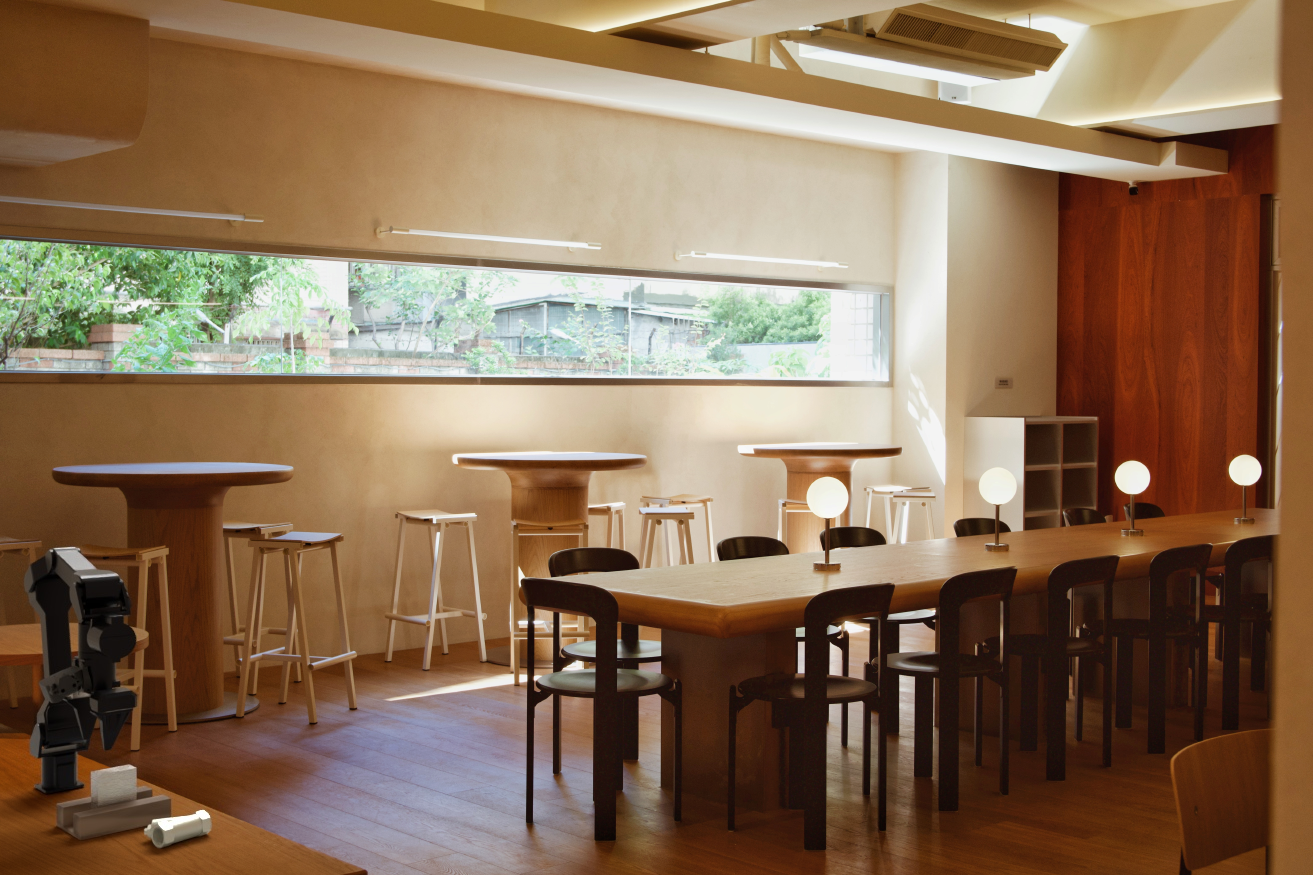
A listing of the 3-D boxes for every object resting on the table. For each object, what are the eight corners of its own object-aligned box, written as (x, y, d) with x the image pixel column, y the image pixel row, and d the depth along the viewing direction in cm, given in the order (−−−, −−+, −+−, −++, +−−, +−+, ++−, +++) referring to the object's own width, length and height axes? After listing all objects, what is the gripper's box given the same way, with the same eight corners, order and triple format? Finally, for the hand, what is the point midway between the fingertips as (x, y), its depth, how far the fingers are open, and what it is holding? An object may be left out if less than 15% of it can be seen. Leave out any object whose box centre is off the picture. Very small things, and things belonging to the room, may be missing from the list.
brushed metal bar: (91, 821, 193) (90, 771, 193) (129, 813, 197) (129, 764, 197) (98, 825, 190) (97, 774, 191) (136, 817, 195) (136, 767, 195)
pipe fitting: (139, 845, 184) (165, 850, 180) (138, 819, 184) (163, 823, 181) (186, 831, 191) (212, 835, 187) (184, 806, 191) (210, 810, 187)
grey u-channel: (56, 825, 192) (56, 803, 192) (145, 806, 202) (145, 785, 202) (80, 840, 185) (80, 817, 185) (171, 819, 195) (171, 798, 195)
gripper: (25, 648, 200) (25, 742, 200) (65, 664, 186) (65, 765, 187) (95, 640, 208) (95, 730, 208) (138, 655, 194) (138, 752, 194)
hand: (96, 744), depth 199 cm, fingers open, 9 cm apart
